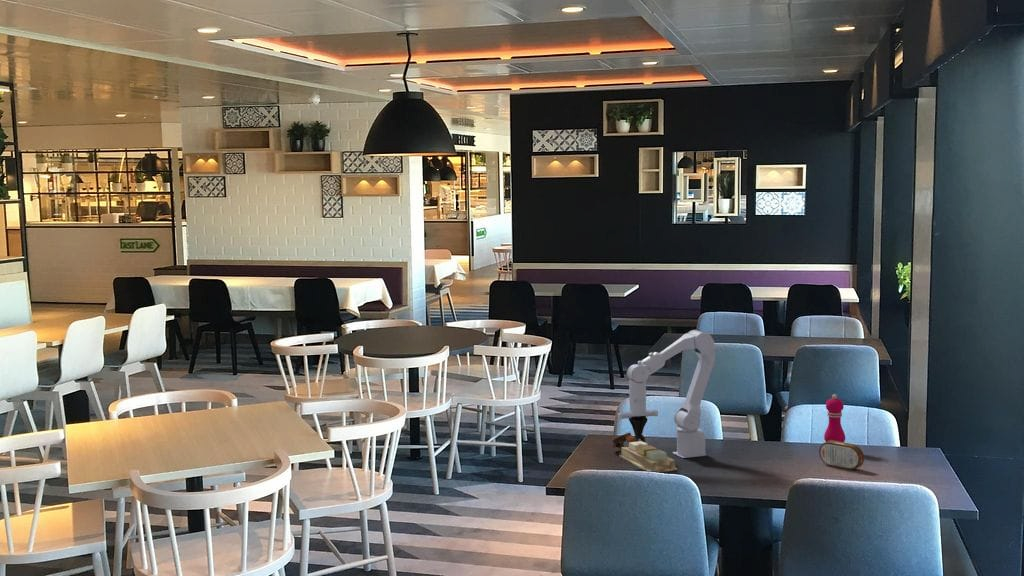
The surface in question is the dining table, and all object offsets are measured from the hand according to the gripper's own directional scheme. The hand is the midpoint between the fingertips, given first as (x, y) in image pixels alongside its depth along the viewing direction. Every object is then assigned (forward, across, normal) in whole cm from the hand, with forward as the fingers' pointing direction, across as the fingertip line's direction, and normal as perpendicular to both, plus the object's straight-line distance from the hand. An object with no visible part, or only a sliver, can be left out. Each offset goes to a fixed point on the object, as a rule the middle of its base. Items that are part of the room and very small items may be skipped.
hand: (638, 437), depth 347 cm
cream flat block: (+4, 0, -7) cm, 8 cm away
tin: (+8, +56, -37) cm, 68 cm away
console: (+7, 0, -7) cm, 10 cm away
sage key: (+4, 0, -14) cm, 15 cm away
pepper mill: (+8, +69, -16) cm, 71 cm away
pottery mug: (+8, +2, +10) cm, 13 cm away
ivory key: (+4, 0, 0) cm, 4 cm away
